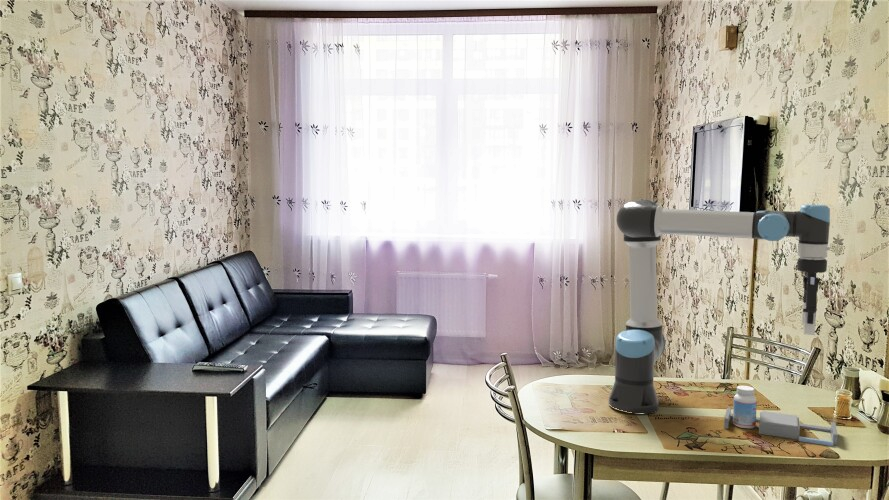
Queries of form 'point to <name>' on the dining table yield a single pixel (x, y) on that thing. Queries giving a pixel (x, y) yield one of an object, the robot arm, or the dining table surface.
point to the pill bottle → (744, 407)
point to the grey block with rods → (786, 427)
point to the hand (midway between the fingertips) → (807, 329)
